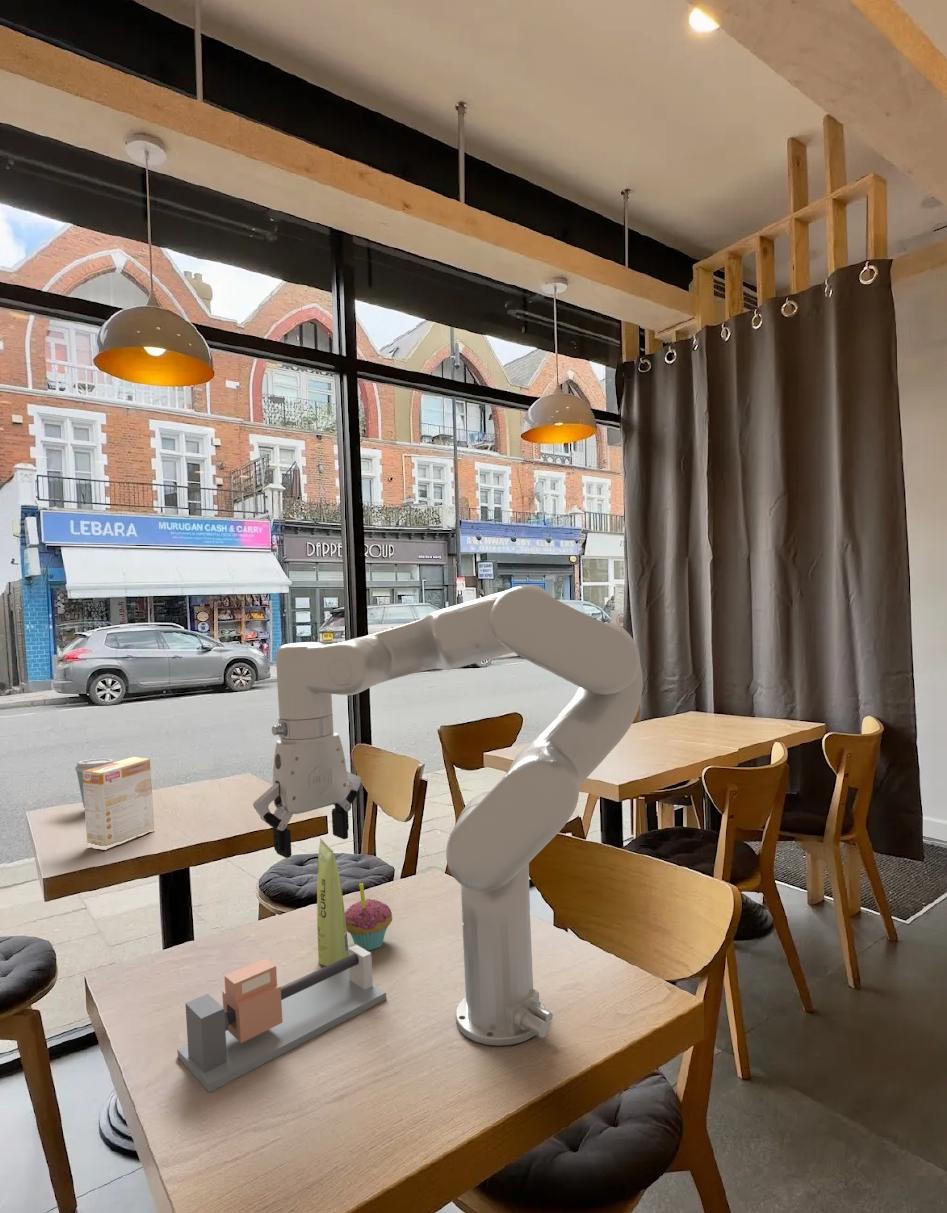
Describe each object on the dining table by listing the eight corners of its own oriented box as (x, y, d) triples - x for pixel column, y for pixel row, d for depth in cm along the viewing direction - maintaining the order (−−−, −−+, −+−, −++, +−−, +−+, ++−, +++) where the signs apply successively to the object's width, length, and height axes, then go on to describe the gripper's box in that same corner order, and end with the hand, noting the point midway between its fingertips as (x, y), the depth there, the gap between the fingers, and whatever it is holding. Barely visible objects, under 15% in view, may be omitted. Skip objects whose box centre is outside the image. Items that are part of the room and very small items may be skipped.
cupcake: (384, 958, 120) (380, 886, 119) (335, 955, 121) (331, 884, 121) (399, 933, 128) (396, 866, 128) (353, 930, 130) (350, 864, 130)
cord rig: (348, 975, 115) (346, 925, 115) (386, 999, 108) (383, 946, 107) (177, 1056, 96) (174, 997, 96) (209, 1092, 89) (205, 1029, 89)
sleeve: (265, 1008, 102) (262, 956, 102) (282, 1022, 99) (279, 968, 99) (224, 1027, 98) (221, 973, 98) (241, 1043, 95) (237, 986, 94)
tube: (309, 964, 119) (302, 847, 118) (326, 949, 123) (320, 836, 123) (338, 970, 117) (332, 850, 116) (355, 954, 121) (349, 839, 121)
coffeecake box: (137, 828, 193) (132, 756, 193) (155, 831, 190) (151, 758, 190) (85, 848, 180) (80, 770, 179) (105, 851, 177) (100, 772, 176)
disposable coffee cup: (93, 805, 218) (90, 755, 217) (126, 804, 216) (123, 755, 216) (69, 816, 207) (66, 764, 207) (104, 816, 206) (100, 764, 205)
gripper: (263, 742, 96) (270, 871, 96) (371, 721, 108) (377, 835, 108) (238, 735, 101) (244, 857, 102) (343, 716, 113) (349, 825, 114)
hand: (313, 845), depth 105 cm, fingers open, 9 cm apart
